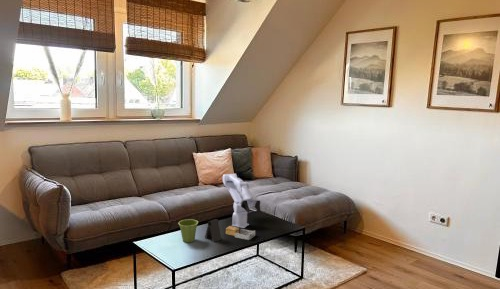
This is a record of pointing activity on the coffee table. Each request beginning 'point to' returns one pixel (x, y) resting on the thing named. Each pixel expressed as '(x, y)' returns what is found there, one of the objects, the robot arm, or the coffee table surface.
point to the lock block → (232, 230)
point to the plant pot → (188, 229)
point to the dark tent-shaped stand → (213, 231)
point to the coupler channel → (249, 235)
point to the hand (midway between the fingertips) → (254, 211)
